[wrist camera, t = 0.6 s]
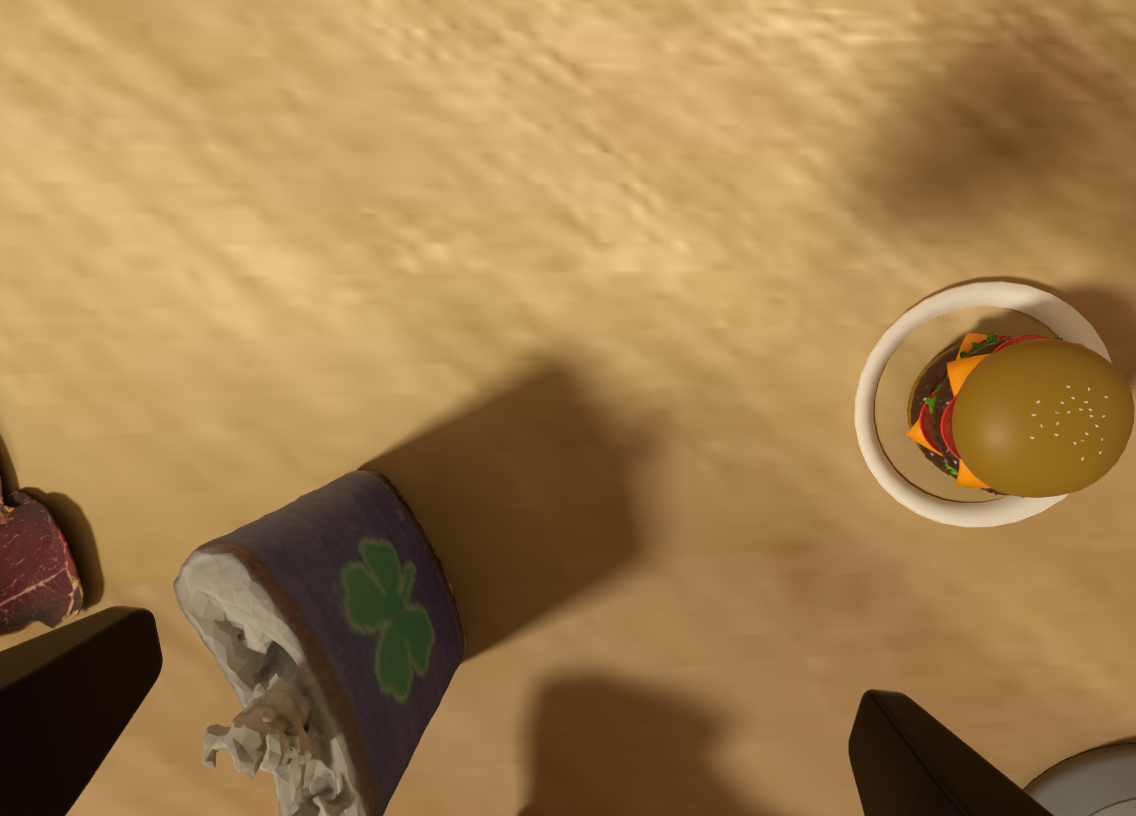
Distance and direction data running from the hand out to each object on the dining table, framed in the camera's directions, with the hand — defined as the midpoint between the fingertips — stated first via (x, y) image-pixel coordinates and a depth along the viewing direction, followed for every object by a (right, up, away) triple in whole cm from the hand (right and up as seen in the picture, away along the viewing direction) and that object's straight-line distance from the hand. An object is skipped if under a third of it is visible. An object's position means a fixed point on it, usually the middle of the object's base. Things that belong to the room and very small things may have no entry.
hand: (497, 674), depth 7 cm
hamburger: (+16, +3, +14) cm, 22 cm away
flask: (-6, -3, +16) cm, 17 cm away
